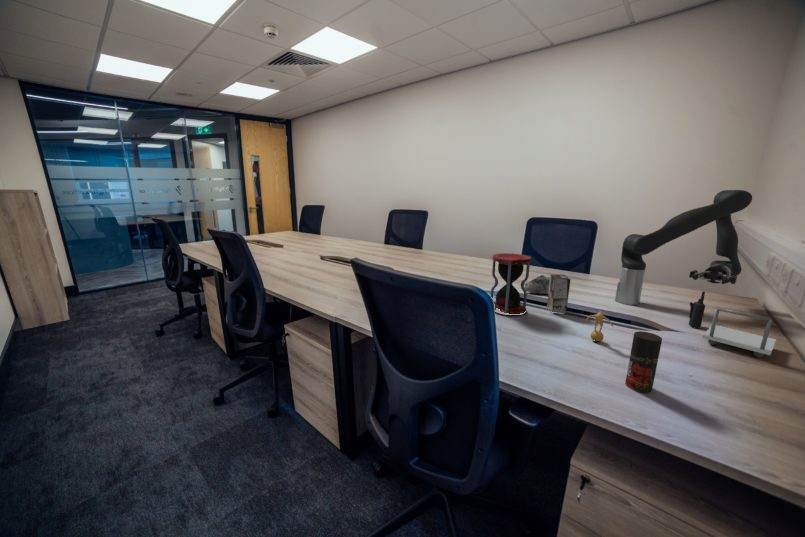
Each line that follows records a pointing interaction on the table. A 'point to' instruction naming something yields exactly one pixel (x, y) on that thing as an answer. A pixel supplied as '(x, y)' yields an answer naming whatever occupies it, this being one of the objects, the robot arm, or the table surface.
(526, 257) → the hourglass
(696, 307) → the two-way radio
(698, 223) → the robot arm
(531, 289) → the mineral rock
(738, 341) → the dolly
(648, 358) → the deodorant
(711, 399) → the table surface
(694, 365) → the table surface
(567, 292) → the coffee box
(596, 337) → the figurine
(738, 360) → the table surface
